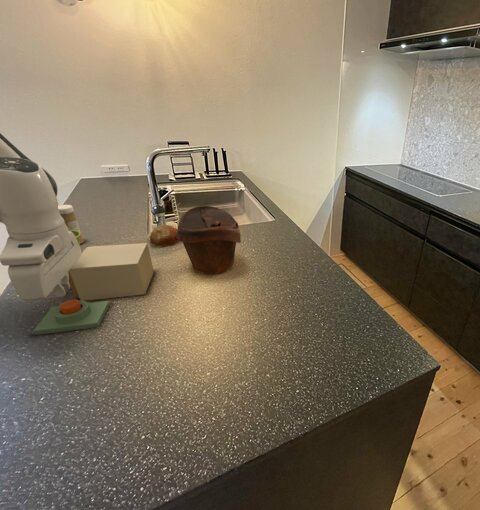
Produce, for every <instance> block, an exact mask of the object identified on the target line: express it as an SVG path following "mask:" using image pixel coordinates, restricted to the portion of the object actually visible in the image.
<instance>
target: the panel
mask: <svg viewBox="0 0 480 510" xmlns="http://www.w3.org/2000/svg"><path fill="white" fill-rule="evenodd" d="M78 301H79V302H80V305H81V309H80V310H79V311H77V312H74V313H71V314H63V313H62V311H61V309H60V305H56V306H51V307H50V308H49V309H48V311H47V312H46V314H44V316H43V317H42V319H41V320H40V321H39V322H38V324H37V325H36V326H35V328H34V329H33V330H32V332H33V334H34V336H39V335H45V334H52V333H53V334H54V333H61V332H68V331H76V330H84V329H92V328H99V327H100V325H101V323H102V321H103V319H104V317H105V316H106V313H107V312H108V310H109V308H110V306H111V303H110V300H101V301H95V302H89V301H87V300H86V301H81V300H80V299H79V300H78Z"/></svg>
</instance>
